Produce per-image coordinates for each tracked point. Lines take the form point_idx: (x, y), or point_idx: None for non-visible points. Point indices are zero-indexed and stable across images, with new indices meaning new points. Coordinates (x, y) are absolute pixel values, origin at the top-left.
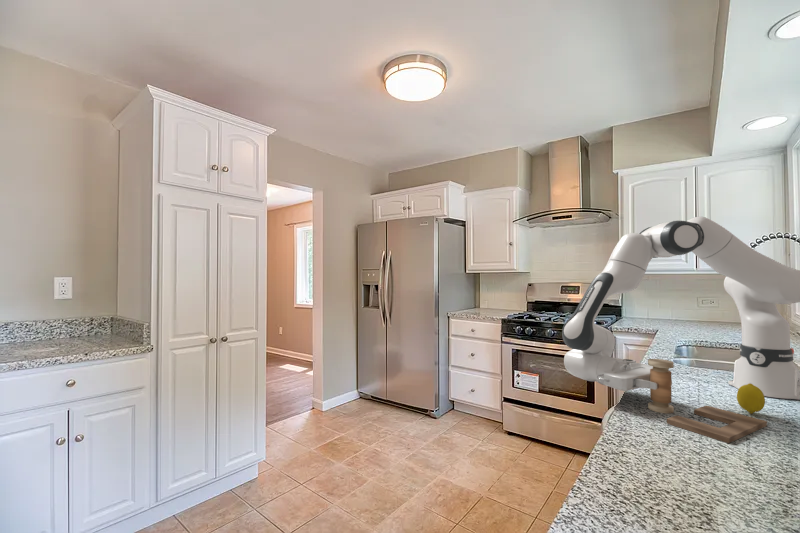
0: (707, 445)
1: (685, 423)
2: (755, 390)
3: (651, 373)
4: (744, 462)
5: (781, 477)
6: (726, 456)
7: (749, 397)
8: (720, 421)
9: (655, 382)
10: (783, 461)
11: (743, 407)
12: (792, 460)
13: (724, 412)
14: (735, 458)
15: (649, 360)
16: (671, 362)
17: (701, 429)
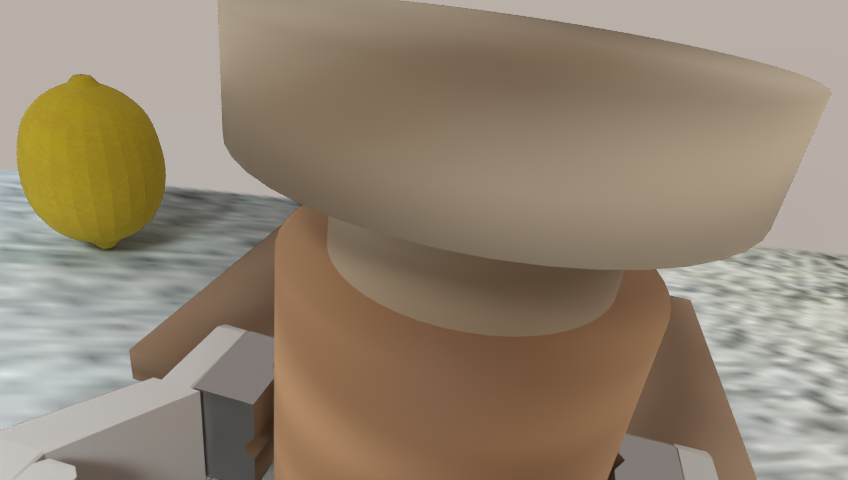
0: (812, 372)
1: (716, 427)
2: (136, 104)
3: (630, 408)
4: (808, 301)
5: (791, 259)
6: (832, 331)
7: (156, 154)
8: None
9: (656, 453)
10: None
11: (126, 230)
12: None
13: (262, 293)
14: (810, 314)
15: (746, 92)
16: (453, 9)
17: (714, 366)
